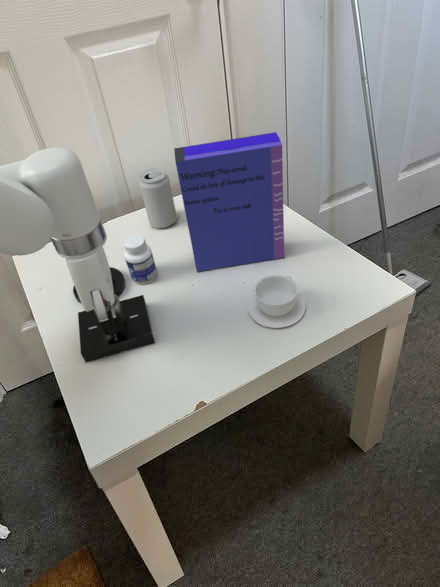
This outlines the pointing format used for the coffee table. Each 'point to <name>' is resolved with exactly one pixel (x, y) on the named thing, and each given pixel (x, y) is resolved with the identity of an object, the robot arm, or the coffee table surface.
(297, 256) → the coffee table surface
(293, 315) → the teacup
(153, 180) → the beverage can
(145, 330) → the black angular base
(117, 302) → the hob knob
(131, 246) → the pill bottle
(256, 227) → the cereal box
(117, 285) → the burner
